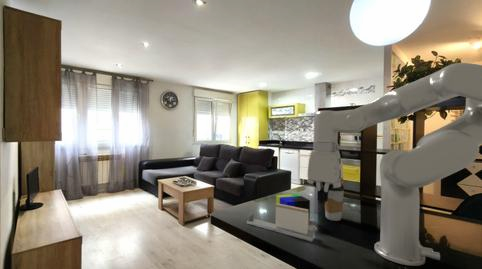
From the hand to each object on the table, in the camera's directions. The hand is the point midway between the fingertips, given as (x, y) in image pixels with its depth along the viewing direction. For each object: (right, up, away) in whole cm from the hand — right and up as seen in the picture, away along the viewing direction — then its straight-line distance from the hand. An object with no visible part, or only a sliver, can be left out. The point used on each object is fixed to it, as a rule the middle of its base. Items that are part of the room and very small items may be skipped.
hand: (322, 202), depth 76 cm
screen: (-9, -12, +6) cm, 16 cm away
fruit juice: (+26, -14, +54) cm, 62 cm away
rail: (-13, -13, +9) cm, 21 cm away
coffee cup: (+13, -14, +22) cm, 29 cm away
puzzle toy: (-6, -14, +18) cm, 23 cm away
